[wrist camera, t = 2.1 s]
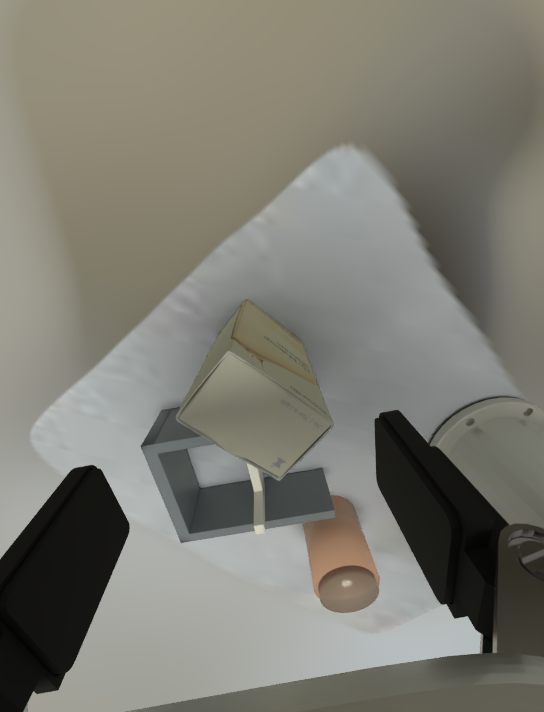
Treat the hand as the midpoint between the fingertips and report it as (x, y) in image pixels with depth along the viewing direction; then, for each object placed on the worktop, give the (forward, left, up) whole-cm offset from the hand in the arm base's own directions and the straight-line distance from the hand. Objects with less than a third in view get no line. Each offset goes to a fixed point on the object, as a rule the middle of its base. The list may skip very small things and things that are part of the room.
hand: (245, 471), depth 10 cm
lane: (+3, +11, -15) cm, 19 cm away
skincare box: (0, 0, -16) cm, 16 cm away
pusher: (+3, +11, -15) cm, 19 cm away
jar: (-4, +22, -15) cm, 27 cm away
